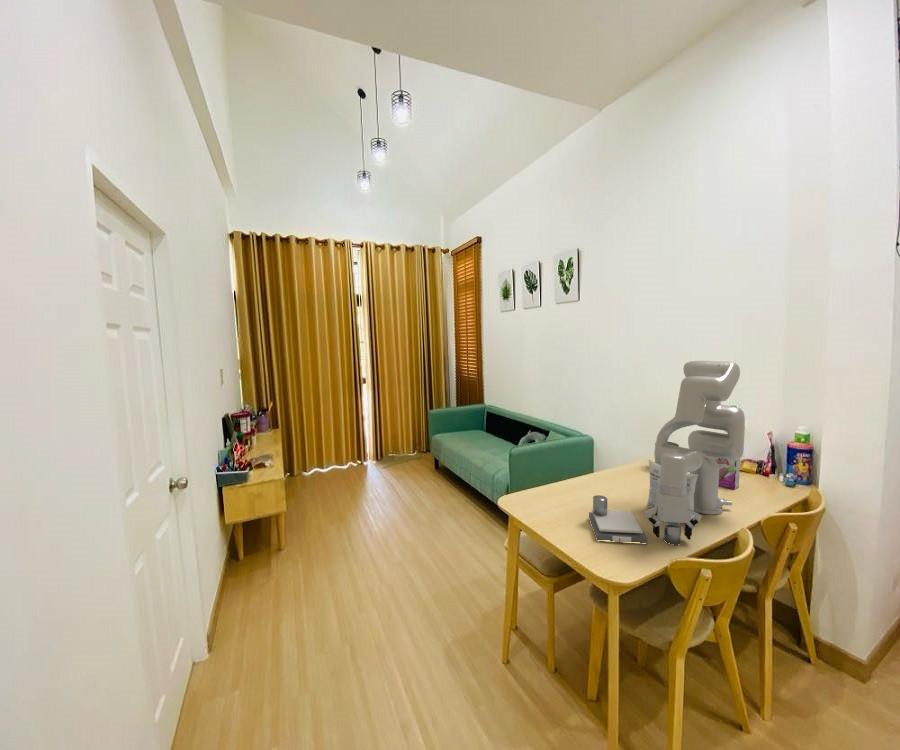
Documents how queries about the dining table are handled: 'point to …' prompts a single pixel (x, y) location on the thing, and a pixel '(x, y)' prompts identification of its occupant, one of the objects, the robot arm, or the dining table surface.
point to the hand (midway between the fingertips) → (671, 536)
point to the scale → (617, 527)
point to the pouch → (656, 484)
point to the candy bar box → (728, 472)
